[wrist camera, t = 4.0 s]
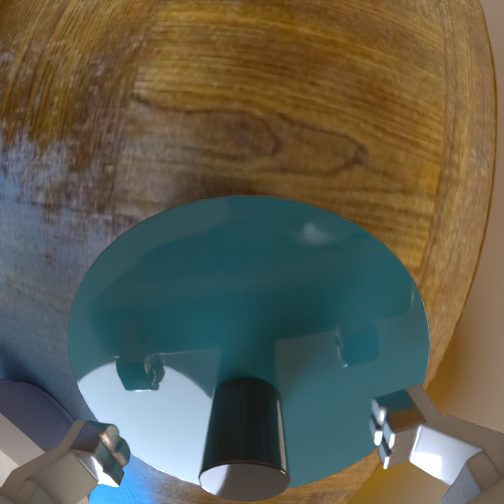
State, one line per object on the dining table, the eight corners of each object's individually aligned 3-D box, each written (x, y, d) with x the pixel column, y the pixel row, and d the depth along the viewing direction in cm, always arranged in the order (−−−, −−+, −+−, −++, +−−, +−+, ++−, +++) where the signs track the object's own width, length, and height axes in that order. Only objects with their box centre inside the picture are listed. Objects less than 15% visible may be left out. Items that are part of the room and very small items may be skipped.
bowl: (3, 417, 22) (-32, 460, 12) (-16, 321, 18) (-78, 367, 9) (109, 481, 23) (86, 540, 14) (120, 408, 19) (75, 498, 10)
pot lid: (413, 167, 8) (515, 167, 4) (398, 444, 12) (426, 509, 7) (40, 239, 9) (-49, 275, 5) (151, 474, 12) (132, 537, 8)
